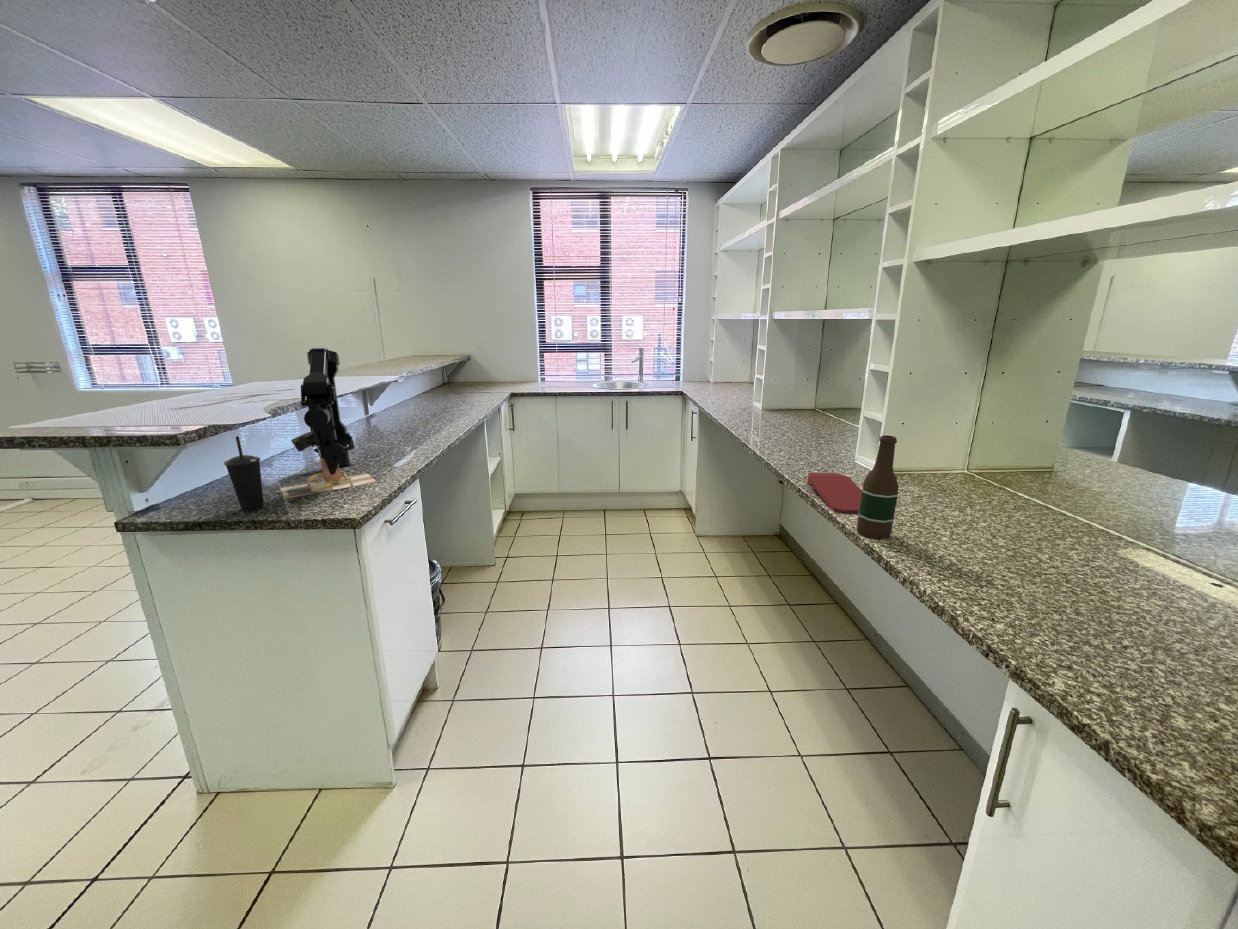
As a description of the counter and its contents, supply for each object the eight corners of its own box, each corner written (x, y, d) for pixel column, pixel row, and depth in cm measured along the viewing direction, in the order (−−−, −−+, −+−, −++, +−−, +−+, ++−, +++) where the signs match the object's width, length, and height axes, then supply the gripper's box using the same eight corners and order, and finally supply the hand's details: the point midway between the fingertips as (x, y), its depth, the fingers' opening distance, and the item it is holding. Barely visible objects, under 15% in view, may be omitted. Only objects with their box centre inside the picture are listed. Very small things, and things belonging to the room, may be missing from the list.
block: (323, 478, 148) (319, 456, 146) (338, 476, 150) (334, 454, 148) (326, 482, 145) (322, 459, 143) (341, 479, 147) (337, 457, 145)
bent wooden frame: (306, 483, 148) (304, 475, 147) (345, 477, 154) (343, 469, 154) (312, 493, 139) (311, 485, 138) (353, 486, 145) (352, 478, 145)
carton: (877, 525, 130) (838, 483, 153) (881, 510, 128) (841, 469, 151) (832, 525, 130) (800, 483, 153) (836, 510, 128) (803, 469, 151)
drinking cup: (241, 505, 132) (225, 434, 127) (273, 502, 135) (259, 432, 129) (230, 515, 125) (212, 440, 120) (265, 511, 128) (249, 438, 122)
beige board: (280, 491, 144) (279, 487, 144) (368, 476, 159) (367, 472, 158) (285, 502, 135) (284, 497, 135) (377, 485, 150) (377, 481, 149)
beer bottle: (897, 540, 112) (915, 440, 105) (863, 540, 112) (879, 440, 106) (881, 527, 119) (897, 433, 113) (849, 526, 120) (863, 432, 113)
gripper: (286, 421, 145) (295, 470, 149) (295, 431, 131) (305, 485, 135) (328, 417, 151) (336, 464, 156) (341, 426, 138) (349, 478, 142)
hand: (331, 472), depth 147 cm, fingers closed on block, 4 cm apart
